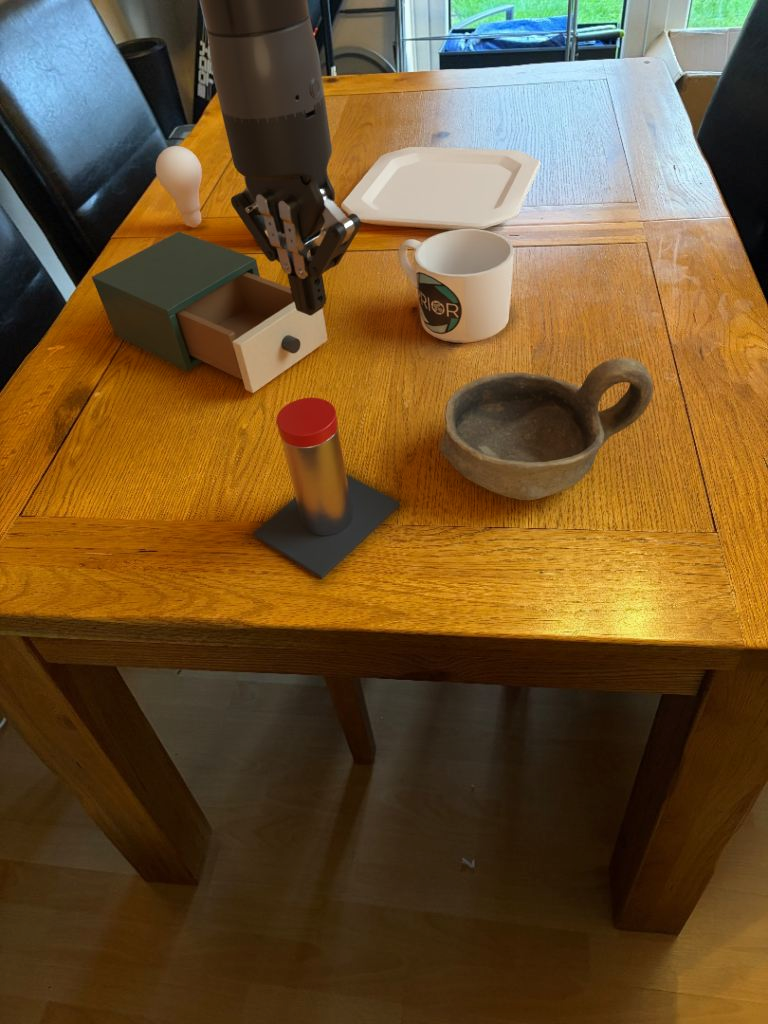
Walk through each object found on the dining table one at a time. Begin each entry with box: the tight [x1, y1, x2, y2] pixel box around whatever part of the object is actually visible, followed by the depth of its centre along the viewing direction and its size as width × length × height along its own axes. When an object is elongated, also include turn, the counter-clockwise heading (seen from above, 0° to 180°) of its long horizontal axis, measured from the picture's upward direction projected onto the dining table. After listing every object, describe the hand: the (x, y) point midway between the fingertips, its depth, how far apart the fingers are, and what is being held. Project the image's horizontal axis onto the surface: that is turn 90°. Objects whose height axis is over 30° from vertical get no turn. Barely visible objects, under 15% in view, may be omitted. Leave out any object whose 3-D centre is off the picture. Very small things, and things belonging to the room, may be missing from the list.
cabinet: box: [91, 230, 261, 372], centre depth 85 cm, size 14×13×8 cm
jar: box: [276, 397, 353, 536], centre depth 59 cm, size 4×4×11 cm
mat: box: [252, 474, 401, 580], centre depth 63 cm, size 10×8×1 cm
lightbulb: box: [155, 145, 203, 229], centre depth 103 cm, size 6×6×11 cm
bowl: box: [439, 357, 654, 501], centre depth 62 cm, size 14×18×10 cm
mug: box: [397, 229, 515, 344], centre depth 81 cm, size 13×10×8 cm
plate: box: [340, 146, 542, 231], centre depth 106 cm, size 25×25×2 cm
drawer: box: [175, 272, 329, 394], centre depth 79 cm, size 14×11×6 cm
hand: (311, 309), depth 65 cm, fingers closed
